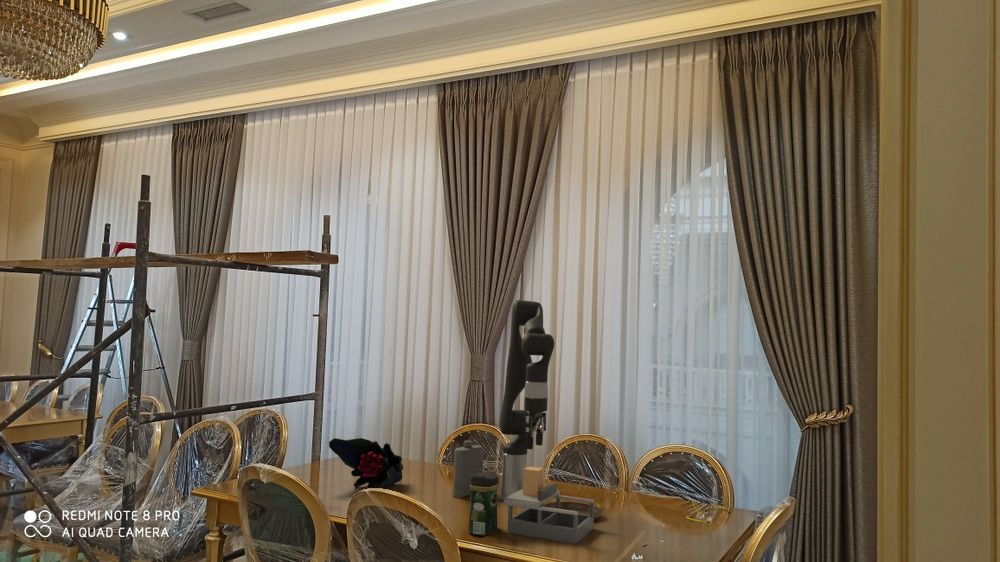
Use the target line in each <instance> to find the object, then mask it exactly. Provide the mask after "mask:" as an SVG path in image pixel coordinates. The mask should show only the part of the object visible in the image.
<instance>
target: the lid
mask: <svg viewBox="0 0 1000 562" xmlns="http://www.w3.org/2000/svg"><path fill="white" fill-rule="evenodd" d="M557 488H558V483H557V482H552V483H550V484H548V485H546V486H543V488H542V489H540V490H539V491H538V497H535V496H527V495H523V489H521V490H519V491H518V492H516V493H514V494H512V495H510V496H508V497H506V498H505V499H504V501H503V504H504V505H508V504H510V505H517V506H523V507H522V508H524V507H530V508H537V509H538V508H539V506H541V505H543V504H544V503H545V504H546V502H547V503H548V501H550V500H551V499H554V498H553V497H555V496H556V495H560V491H559V490H558V489H557ZM517 506H516V507H517Z"/></svg>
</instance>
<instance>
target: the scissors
mask: <svg viewBox="0 0 1000 562" xmlns="http://www.w3.org/2000/svg"><path fill="white" fill-rule="evenodd" d="M692 505H693V507H694V509H695V510H696V512H697V513H698V514H699V513H701V512H703V511H702V510H701V509H700V507H699V505H698V504H697V503H696V500H695V499H692ZM695 505H696V506H695ZM712 507H714V508H716V507H717V505H716V506H710V507H709V508H711V509H713V508H712ZM719 507H720V508H719V509H721V508H723V509H722V510H724V508H725V507H721V506H719ZM700 511H701V512H700ZM689 516H690V515H687V516H686V519H688V520H689V521H690V520H691V521H695V522H698V523H700V522H701V523H708V522H707V521H708V520H699V519H695V518H691V517H689Z"/></svg>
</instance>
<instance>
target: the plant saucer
mask: <svg viewBox="0 0 1000 562" xmlns="http://www.w3.org/2000/svg"><path fill="white" fill-rule="evenodd" d="M542 507H549V508H556V501H555V502H553V501H552V502H549V503H548V502H547V503H545V504H544V505H543V506H542ZM560 509H563V510H569V511H576V512H578V514H584V515H590V504H588V503H584V502H577V501H560ZM603 515H604V511H603V509H601V508H600V507H598V506H595V505H594V521H598V520H600V519H601V518H602V516H603ZM594 521H593V522H594Z"/></svg>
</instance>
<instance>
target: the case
mask: <svg viewBox="0 0 1000 562" xmlns="http://www.w3.org/2000/svg"><path fill="white" fill-rule="evenodd" d="M554 498H555V500H556V501H555V502H556V508H549V507H543V506H541V505H540V506H539V508H538V509H537V508H530V507H523V506H517V505H510V504H507V505H508V510H507V512H508V514H507V533H509V534H515V535H520V536H527V537H533V538H539V539H545V540H552V541H555V542H556V541H558V542H563V543H568V544H574V545H575V544H576V545H577V544H578V543H579V542H580V541H581V540H583V539H584V538H585V537H586V536H587V535H588V534H589V533H591V531H592V530H594V506H595V500H594V499H589V498H583V497H582V498H581V497H577V496H576V497H575V496H568V495H561V494H559V495H556V496H555V497H553V498H552V499H554ZM561 499H562V500H568V501H573V502H580V503H587V504H588V503H589V505H590V515H584V514H578V512H576V511H569V510H563V509H560V502H561ZM514 507H517V508H518V507H519V508H525V509H523V510H521V511H520V512H518V513H516V514H514V515H513V510H514V509H513V508H514Z"/></svg>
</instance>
